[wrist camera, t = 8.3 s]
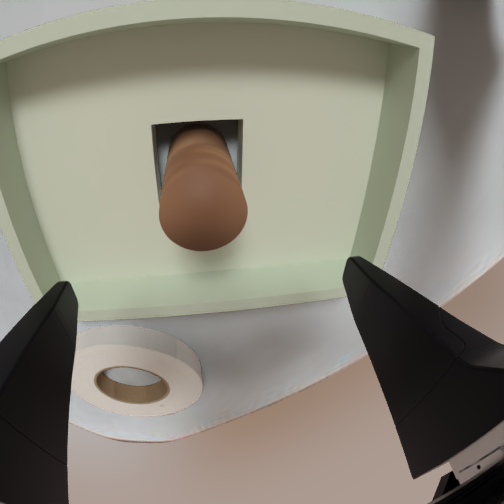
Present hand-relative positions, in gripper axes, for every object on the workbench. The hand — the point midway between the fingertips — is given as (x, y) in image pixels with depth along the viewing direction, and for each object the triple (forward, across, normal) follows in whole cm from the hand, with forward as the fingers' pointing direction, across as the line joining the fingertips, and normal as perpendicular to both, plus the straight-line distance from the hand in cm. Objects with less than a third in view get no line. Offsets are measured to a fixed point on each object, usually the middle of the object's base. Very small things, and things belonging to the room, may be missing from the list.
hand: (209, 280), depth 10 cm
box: (+12, 0, 0) cm, 12 cm away
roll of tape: (+12, +9, +23) cm, 28 cm away
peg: (+12, 0, 0) cm, 12 cm away
